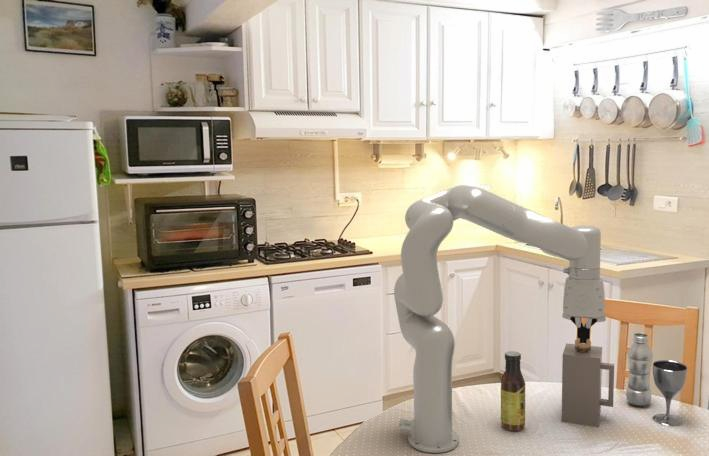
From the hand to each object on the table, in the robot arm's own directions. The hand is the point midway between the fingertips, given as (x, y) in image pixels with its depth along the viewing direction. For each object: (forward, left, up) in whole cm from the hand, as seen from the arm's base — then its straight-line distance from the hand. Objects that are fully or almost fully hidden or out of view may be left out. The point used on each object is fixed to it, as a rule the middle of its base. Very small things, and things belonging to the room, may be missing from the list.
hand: (583, 341), depth 164 cm
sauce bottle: (-16, -12, -21) cm, 29 cm away
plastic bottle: (+14, +14, -21) cm, 29 cm away
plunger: (0, 0, -19) cm, 19 cm away
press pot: (+1, 0, -21) cm, 21 cm away
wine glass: (+21, +6, -21) cm, 30 cm away
